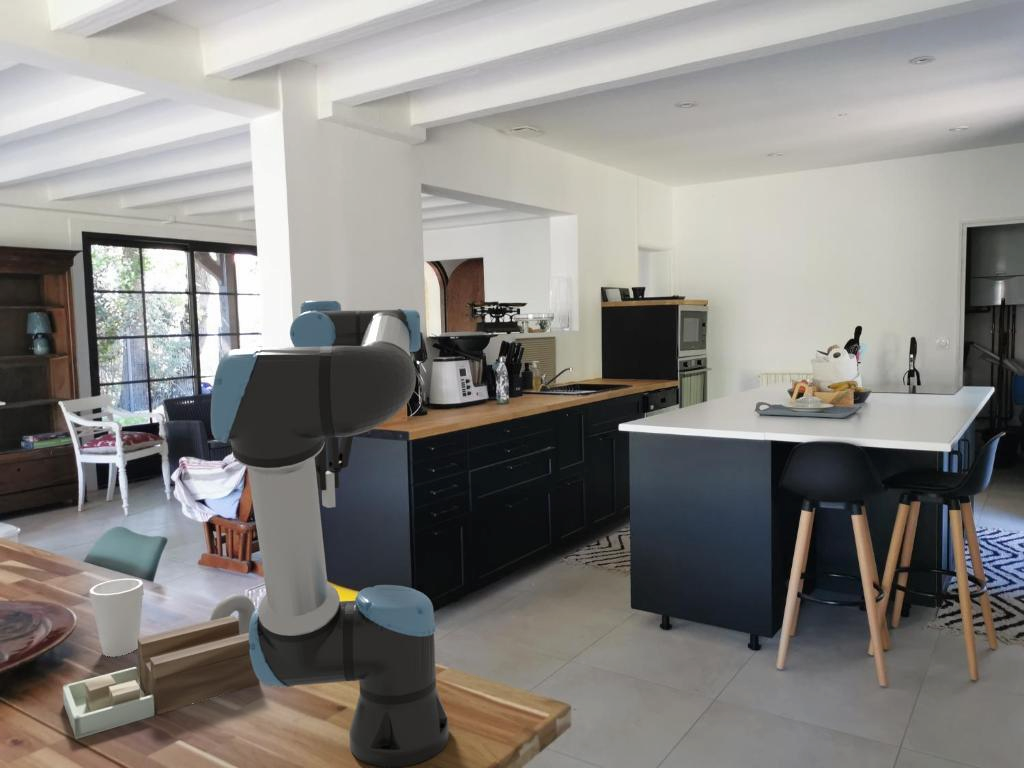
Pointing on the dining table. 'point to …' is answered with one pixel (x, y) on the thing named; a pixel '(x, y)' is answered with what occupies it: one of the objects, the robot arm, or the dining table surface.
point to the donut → (235, 604)
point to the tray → (106, 717)
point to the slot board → (195, 663)
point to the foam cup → (118, 614)
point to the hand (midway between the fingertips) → (328, 505)
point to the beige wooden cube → (124, 692)
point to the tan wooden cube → (98, 693)
